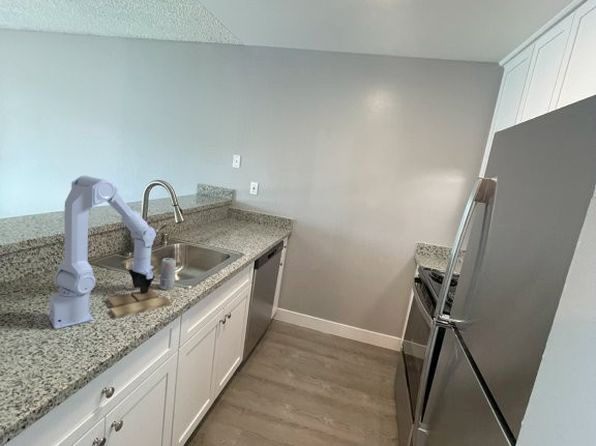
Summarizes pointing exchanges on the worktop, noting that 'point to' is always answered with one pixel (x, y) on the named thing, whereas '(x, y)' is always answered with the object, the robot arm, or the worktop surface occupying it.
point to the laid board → (139, 307)
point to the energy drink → (168, 273)
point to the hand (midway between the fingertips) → (140, 290)
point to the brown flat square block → (121, 300)
